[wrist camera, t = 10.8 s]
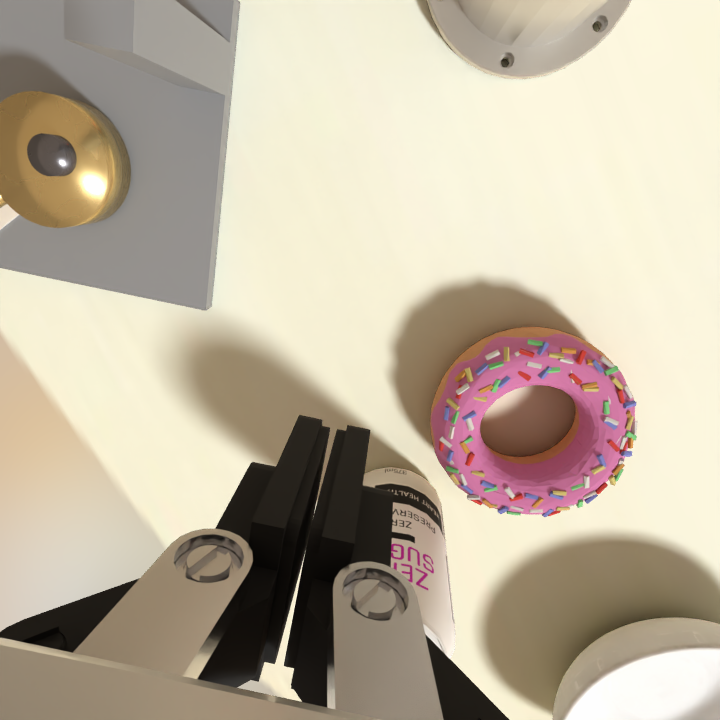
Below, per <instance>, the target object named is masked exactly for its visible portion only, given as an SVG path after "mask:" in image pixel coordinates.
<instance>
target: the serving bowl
mask: <svg viewBox="0 0 720 720" xmlns="http://www.w3.org/2000/svg"><path fill="white" fill-rule="evenodd" d="M553 720H720V624H718V623H714V622H710V621H705V620H700V619H692V618H680V617H675V618H656V619H648V620H643V621H639V622H635V623H631V624H628V625H625V626H622V627H620V628H617V629H615V630H613V631H611V632H609V633H607V634H605V635H603V636H602V637H600V638H598V639H597V640H595V641H594V642H593V643H591V644H590V645H589V646H588V647H587V648H585V649H584V650H583V651H582V652H581V653H580V654H579V655H578V656H577V658H576V659H575V660H574V661H573V663H572V664H571V665H570V667H569V668H568V670H567V671H566V673H565V675H564V677H563V678H562V681H561V683H560V685H559V688H558V691H557V694H556V698H555V702H554V709H553Z"/></svg>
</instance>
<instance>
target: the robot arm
mask: <svg viewBox="0 0 720 720" xmlns="http://www.w3.org/2000/svg"><path fill="white" fill-rule="evenodd" d="M630 2H631V0H440V1H439V0H427V3H428V6H429V9H430V12H431V16H432V19H433V21H434V22H435V24H436V26H437V28H438V30H439V32H440V34H441V36H442V37H443V39H444V40H445V41H446V42H447V44H448V45H449V46H450V47H451V49H452V50H453V51H454V52H455V53H456V54H457V55H458V56H459V57H461V58H462V59H463V60H464V61H466V62H467V63H468V64H469V65H471V66H473V67H475V68H477V69H479V70H481V71H483V72H485V73H487V74H490V75H494V76H498V77H502V78H507V79H529V78H534V77H540V76H545V75H548V74H550V73H553V72H556V71H558V70H561V69H564V68H565V67H567V66H569V65H570V64H572V63H574V62H576V61H577V60H579V59H580V58H582V57H583V56H585V55H586V54H587V53H588V52H590V51H591V50H592V49H594V48H595V47H596V46H597V45H598V44H599V43H600V42H601V41H602V40H603V39H604V38H605V37H606V36H607V35H608V34H609V33H610V32H611V31H612V30H613V28H614V27H615V26H616V24H617V23H618V21H619V20H620V19H621V17H622V16H623V14H624V13H625V11H626V10H627V8H628V6H629V4H630ZM593 23H596V24H598V26H599V30H598V31H594V29H593V27H592V25H593ZM502 59H507V60H508V66H507V67H503V66H502V65H501V60H502ZM329 432H330V428H329V427H324V426H322V420H321V419H316V418H311V417H306V416H302V415H299V417H298V419H297V421H296V424H295V426H294V428H293V430H292V433H291V435H290V437H289V439H288V442H287V444H286V446H285V448H284V450H283V453H282V455H281V457H280V459H279V462H278V464H277V466H276V467H274V466H270V465H265V464H260V463H255V462H252V463H251V464H250V466H249V468H248V469H247V471H246V473H245V475H244V477H243V479H242V480H241V482H240V484H239V486H238V488H237V490H236V492H235V493H234V495H233V497H232V499H231V501H230V503H229V504H228V506H227V508H226V510H225V512H224V514H223V516H222V517H221V519H220V521H219V523H218V525H217V527H216V528H215V529H201V530H196V531H191V532H189V533H187V534H185V535H183V536H180V537H179V538H178V539H177V540H175V541H174V542H173V543H172V544H171V545H170V546H169V547H168V548H167V549H166V550H165V551H164V552H163V553H162V555H161V556H160V557H159V558H158V559H157V560H156V561H155V562H154V563H153V565H152V566H151V567H150V568H149V569H148V570H147V571H146V572H145V573H144V575H143V576H142V577H141V578H139V579H136V580H134V581H131V582H128V583H125V584H122V585H120V586H117V587H114V588H111V589H108V590H105V591H103V592H100V593H97V594H94V595H91V596H89V597H86V598H83V599H80V600H78V601H75V602H72V603H69V604H66V605H64V606H60V607H58V608H55V609H52V610H49V611H46V612H44V613H41V614H38V615H36V616H32V617H30V618H27V619H24V620H22V621H20V622H17V623H15V624H13V625H11V626H9V627H7V628H5V629H4V630H2V631H1V632H0V720H509V719H508V718H507V717H506V716H505V715H504V714H503V713H502V712H501V711H500V710H499V709H498V708H497V707H496V706H495V705H494V704H493V703H492V702H491V701H490V700H489V699H488V698H487V697H486V696H485V694H484V693H483V692H482V691H481V690H480V689H479V688H478V687H477V686H476V685H475V684H474V683H473V682H472V681H471V680H470V679H469V678H468V677H467V676H466V675H465V674H464V673H463V672H462V671H461V670H460V669H459V668H458V667H457V666H456V665H455V664H454V663H453V662H452V661H451V660H450V659H449V658H448V657H447V656H446V655H445V654H444V653H443V652H442V651H441V650H440V648H439V647H438V646H437V645H436V644H435V643H434V642H433V641H432V640H431V639H430V638H429V637H428V636H427V635H426V634H425V631H424V626H423V621H422V617H421V612H420V607H419V603H418V598H417V595H416V593H415V590H414V588H413V586H412V585H411V583H410V582H409V581H408V580H407V578H406V577H405V576H403V575H402V574H401V573H399V572H398V571H397V570H395V569H393V568H391V545H392V517H393V492H392V491H388V490H383V489H378V488H374V487H369V486H364V485H363V479H364V472H365V464H366V457H367V450H368V443H369V435H370V430H368V429H363V428H359V427H354V426H349V425H348V426H347V430H346V431H343V430H338V429H337V432H336V436H335V439H334V443H333V447H332V450H331V454H330V458H329V462H328V465H327V469H326V473H325V476H324V480H323V484H322V488H321V491H320V495H319V499H318V502H317V506H316V510H315V505H316V500H317V495H318V490H319V484H320V479H321V474H322V469H323V463H324V458H325V453H326V448H327V443H328V437H329ZM314 511H315V513H314ZM313 516H314V517H313ZM306 546H307V547H306ZM305 550H306V552H305ZM304 554H305V557H304ZM303 558H304V562H303V567H302V573H301V578H300V583H299V588H298V594H297V599H296V604H295V609H294V615H293V620H292V625H291V630H290V636H289V641H288V646H287V651H286V657H285V662H284V666H286V667H291V668H294V673H293V678H292V683H291V689H294V690H295V692H296V693H297V695H298V696H299V698H300V699H301V700H302V702H299V701H295V700H290V699H286V698H281V697H277V696H271V695H267V694H263V693H258V692H254V691H249V690H244V689H239V688H237V687H239V686H241V685H242V684H244V683H246V682H248V681H250V680H254V681H258V682H259V678H260V675H261V672H262V668H263V665H264V662H268V663H272V664H275V662H276V658H277V655H278V651H279V647H280V643H281V640H282V636H283V632H284V629H285V625H286V621H287V617H288V614H289V610H290V606H291V602H292V599H293V595H294V591H295V587H296V584H297V580H298V576H299V573H300V569H301V565H302V561H303Z"/></svg>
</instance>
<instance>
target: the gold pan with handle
mask: <svg viewBox="0 0 720 720" xmlns="http://www.w3.org/2000/svg"><path fill="white" fill-rule="evenodd" d="M130 182H131V164H130V158H129V154H128V151H127V148H126V145H125V143H124V141H123V139H122V137H121V135H120V133H119V132H118V130H117V129H116V127H115V126H114V125H113V124H112V122H111V121H110V120H109V119H108V118H107V117H106V116H105V115H104V114H102V113H101V112H100V111H99V110H97V109H96V108H94V107H92V106H91V105H89V104H87V103H84V102H81V101H79V100H75V99H70V98H66V97H62V96H58V95H54V94H49V93H45V92H40V91H24V92H20V93H16V94H14V95H11V96H9V97H8V98H6V99H5V100H3V101H2V102H1V103H0V207H2V206H4V205H6V204H8V205H9V206H10V207H11V208H12V209H13V210H14V211H15V212H17V213H18V214H19V215H21V216H22V217H24V218H25V219H27V220H29V221H31V222H33V223H36V224H38V225H41V226H45V227H51V228H65V227H72V226H79V225H86V224H92V223H97V222H100V221H103V220H105V219H107V218H109V217H110V216H111V215H113V214H114V213H115V212H116V211H117V210H118V209H119V208H120V207H121V205H122V204H123V202H124V200H125V198H126V196H127V194H128V191H129V187H130Z"/></svg>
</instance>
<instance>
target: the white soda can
mask: <svg viewBox="0 0 720 720" xmlns="http://www.w3.org/2000/svg"><path fill="white" fill-rule="evenodd" d="M363 485H364V486H369V487H374V488H378V489H383V490H388V491H392V492H393V517H392V545H391V568H393V569H395V570H397V571H398V572H399V573H401V574H402V575H403V576H405V577H406V578H407V580H408V581H409V582H410V583H411V585H412V586H413V588H414V590H415V593H416V595H417V598H418V603H419V607H420V612H421V617H422V621H423V626H424V631H425V634H426V635H427V636H428V637H429V638H430V639H431V640H432V641H433V642H434V643H435V644H436V645H437V646H438V647H439V648H440V650H441V651H442V652H443V653H444V654H445V655H446V656H447V657H448V658H449V659H450V658H451V656H452V654H453V652H454V650H455V622H454V613H453V604H452V595H451V586H450V577H449V568H448V559H447V551H446V542H445V533H444V524H443V515H442V506H441V502H440V499H439V497H438V495H437V492H436V490H435V489H434V488H433V487H432V485H431V484H430V483H429V482H428V481H427V480H426V479H425V478H424V477H422V476H420V475H418V474H416V473H414V472H412V471H410V470H406V469H400V468H394V467H388V468H381V469H374V470H372V471H370V472H368V473H366V474H364V479H363Z"/></svg>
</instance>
